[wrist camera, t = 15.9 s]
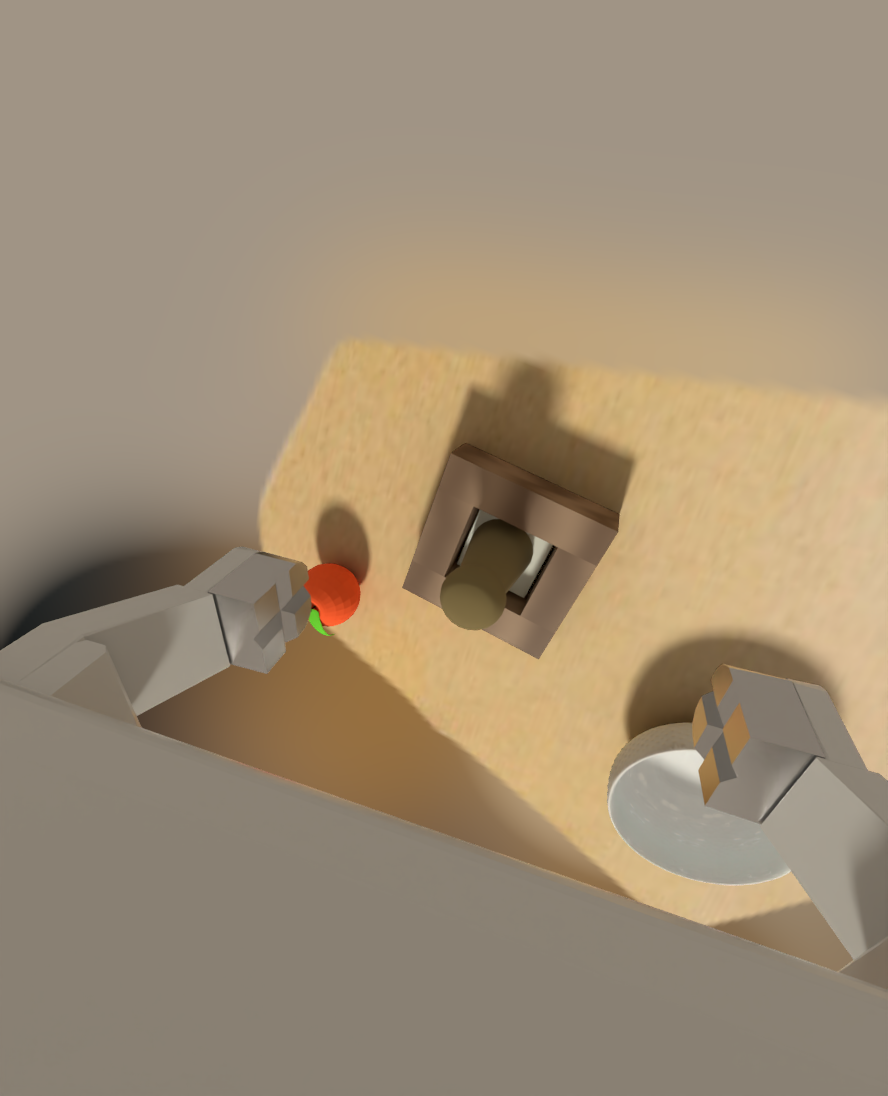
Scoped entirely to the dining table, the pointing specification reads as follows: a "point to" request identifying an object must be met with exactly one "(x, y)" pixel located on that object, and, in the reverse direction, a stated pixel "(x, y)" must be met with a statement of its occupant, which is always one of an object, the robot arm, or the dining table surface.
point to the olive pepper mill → (486, 575)
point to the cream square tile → (528, 576)
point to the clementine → (331, 595)
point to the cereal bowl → (683, 814)
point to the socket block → (530, 508)
